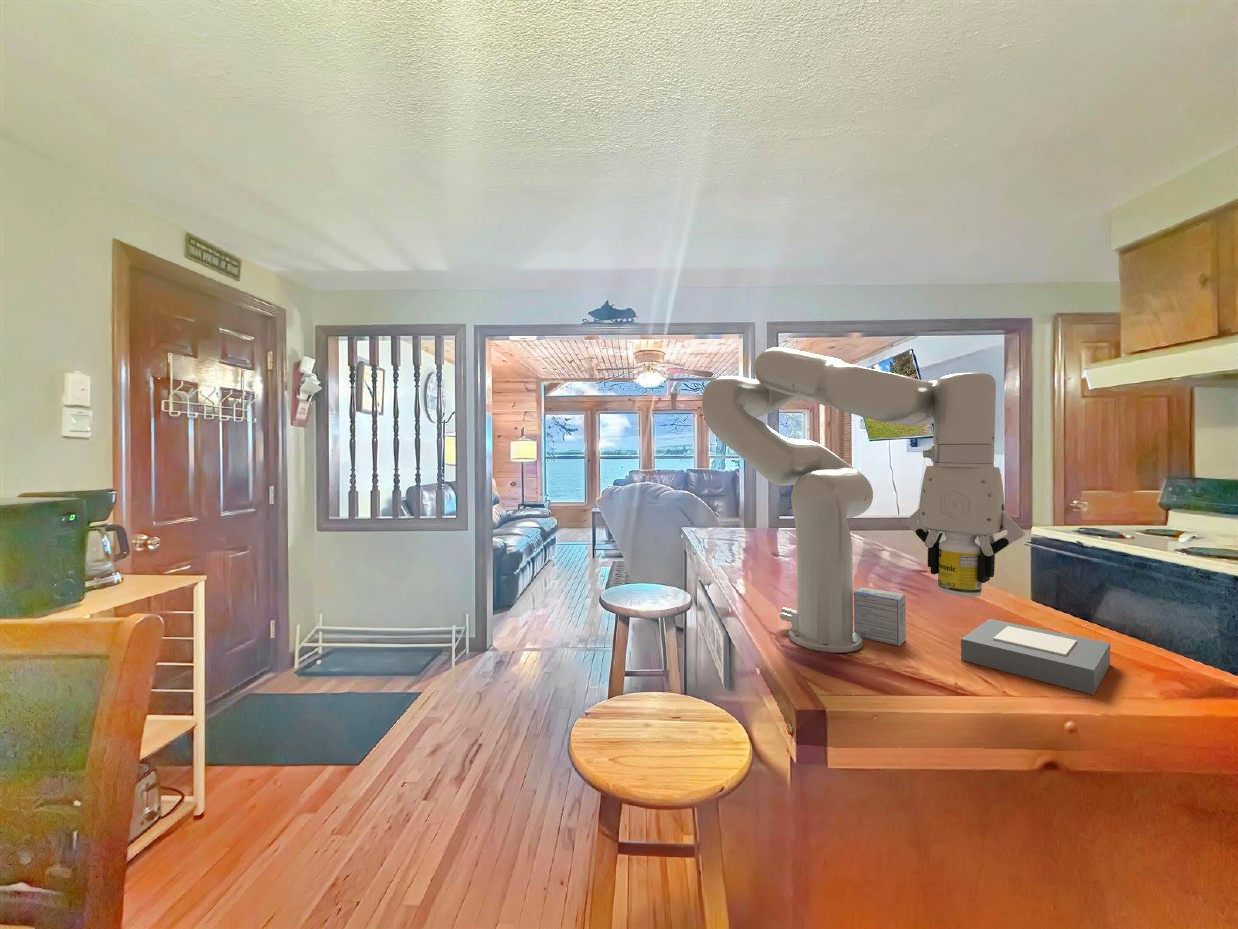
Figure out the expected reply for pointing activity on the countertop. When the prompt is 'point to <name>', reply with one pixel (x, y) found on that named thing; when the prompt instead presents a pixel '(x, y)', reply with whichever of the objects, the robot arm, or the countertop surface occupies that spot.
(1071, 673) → the plate
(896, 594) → the medicine box
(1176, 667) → the countertop surface
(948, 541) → the supplement bottle
